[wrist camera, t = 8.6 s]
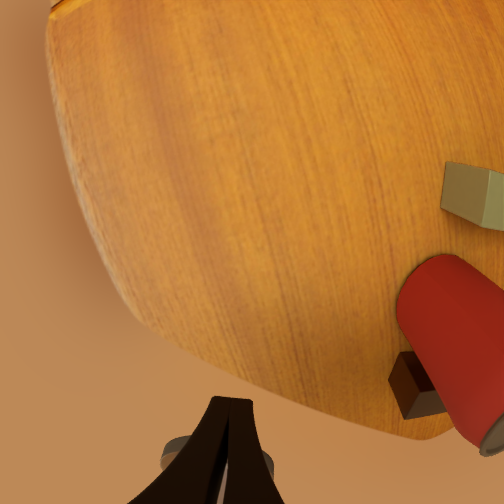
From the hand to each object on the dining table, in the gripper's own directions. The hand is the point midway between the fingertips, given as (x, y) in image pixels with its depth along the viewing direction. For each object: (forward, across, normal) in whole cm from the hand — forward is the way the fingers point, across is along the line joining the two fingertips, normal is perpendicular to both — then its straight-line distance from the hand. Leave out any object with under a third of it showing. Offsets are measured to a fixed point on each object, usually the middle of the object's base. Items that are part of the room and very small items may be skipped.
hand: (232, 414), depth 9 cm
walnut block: (+9, -16, +6) cm, 19 cm away
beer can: (+10, -13, -1) cm, 16 cm away
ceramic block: (+9, -16, -8) cm, 20 cm away
